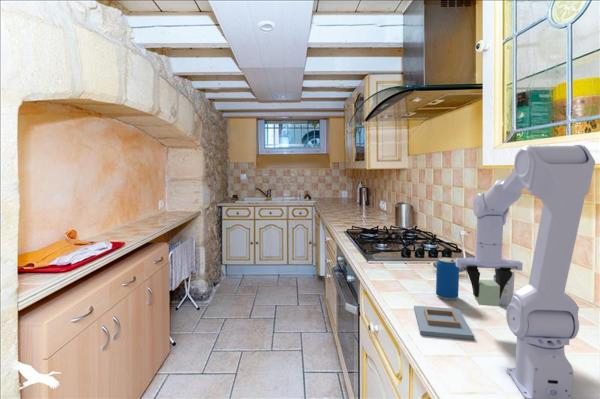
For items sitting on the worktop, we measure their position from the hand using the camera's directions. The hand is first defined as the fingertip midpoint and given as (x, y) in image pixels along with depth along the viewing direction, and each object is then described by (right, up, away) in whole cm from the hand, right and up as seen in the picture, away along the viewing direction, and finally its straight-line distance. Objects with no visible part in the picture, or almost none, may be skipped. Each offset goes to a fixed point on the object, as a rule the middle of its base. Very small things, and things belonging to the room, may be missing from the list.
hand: (486, 296), depth 86 cm
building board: (-10, -8, +4) cm, 13 cm away
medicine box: (+15, -7, +19) cm, 26 cm away
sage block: (0, -2, 0) cm, 2 cm away
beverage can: (0, -7, +23) cm, 24 cm away
